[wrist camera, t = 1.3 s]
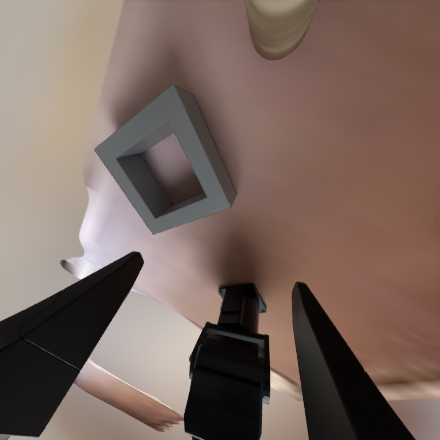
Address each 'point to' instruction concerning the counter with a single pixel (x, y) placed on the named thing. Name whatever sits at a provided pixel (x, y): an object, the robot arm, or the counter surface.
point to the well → (194, 149)
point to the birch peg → (278, 25)
